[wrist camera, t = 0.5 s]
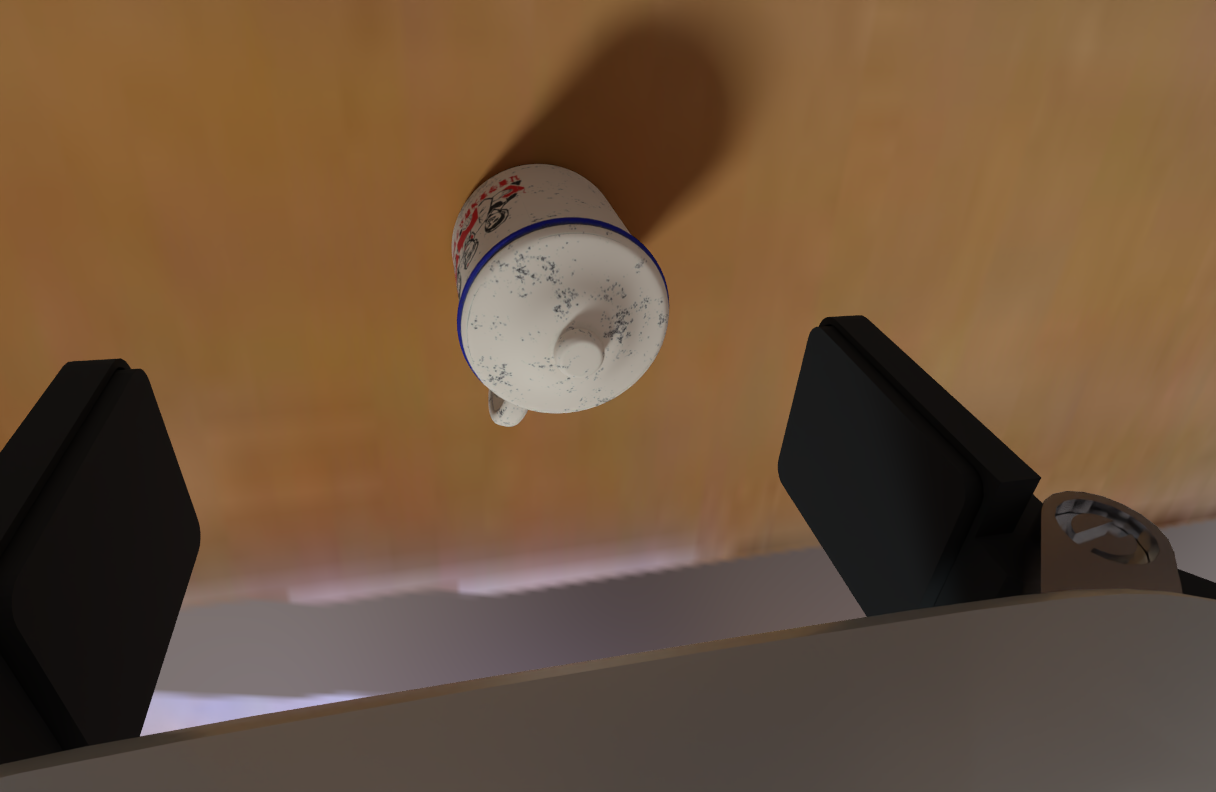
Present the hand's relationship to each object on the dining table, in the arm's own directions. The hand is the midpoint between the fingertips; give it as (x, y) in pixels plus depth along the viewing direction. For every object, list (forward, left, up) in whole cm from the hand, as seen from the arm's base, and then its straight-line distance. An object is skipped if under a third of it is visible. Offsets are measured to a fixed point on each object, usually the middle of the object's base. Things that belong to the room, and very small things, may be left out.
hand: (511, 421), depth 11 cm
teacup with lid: (0, +10, -27) cm, 29 cm away
